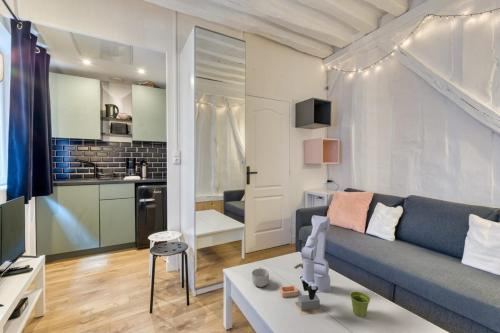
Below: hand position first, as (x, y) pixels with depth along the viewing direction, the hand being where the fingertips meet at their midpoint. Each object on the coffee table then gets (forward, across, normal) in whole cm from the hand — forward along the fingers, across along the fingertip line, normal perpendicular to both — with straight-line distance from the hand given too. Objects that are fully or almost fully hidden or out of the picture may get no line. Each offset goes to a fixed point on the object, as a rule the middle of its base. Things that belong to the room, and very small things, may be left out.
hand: (308, 294), depth 120 cm
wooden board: (+7, 0, 0) cm, 7 cm away
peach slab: (+7, -13, -7) cm, 16 cm away
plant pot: (+7, +8, +24) cm, 26 cm away
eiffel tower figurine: (+8, -40, +15) cm, 43 cm away
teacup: (+7, -27, -21) cm, 35 cm away
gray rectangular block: (+7, 0, 0) cm, 7 cm away
